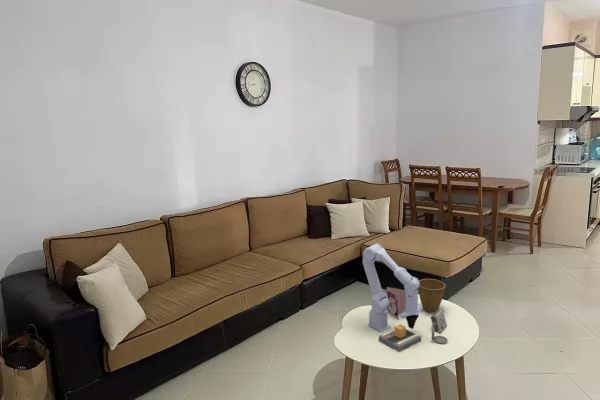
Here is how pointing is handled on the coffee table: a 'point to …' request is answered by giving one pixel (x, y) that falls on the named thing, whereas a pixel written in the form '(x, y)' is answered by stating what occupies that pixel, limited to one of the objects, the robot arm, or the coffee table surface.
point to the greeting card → (396, 301)
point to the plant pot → (431, 294)
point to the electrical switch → (439, 321)
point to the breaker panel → (399, 340)
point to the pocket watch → (438, 338)
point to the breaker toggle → (400, 331)
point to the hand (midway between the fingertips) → (411, 327)
